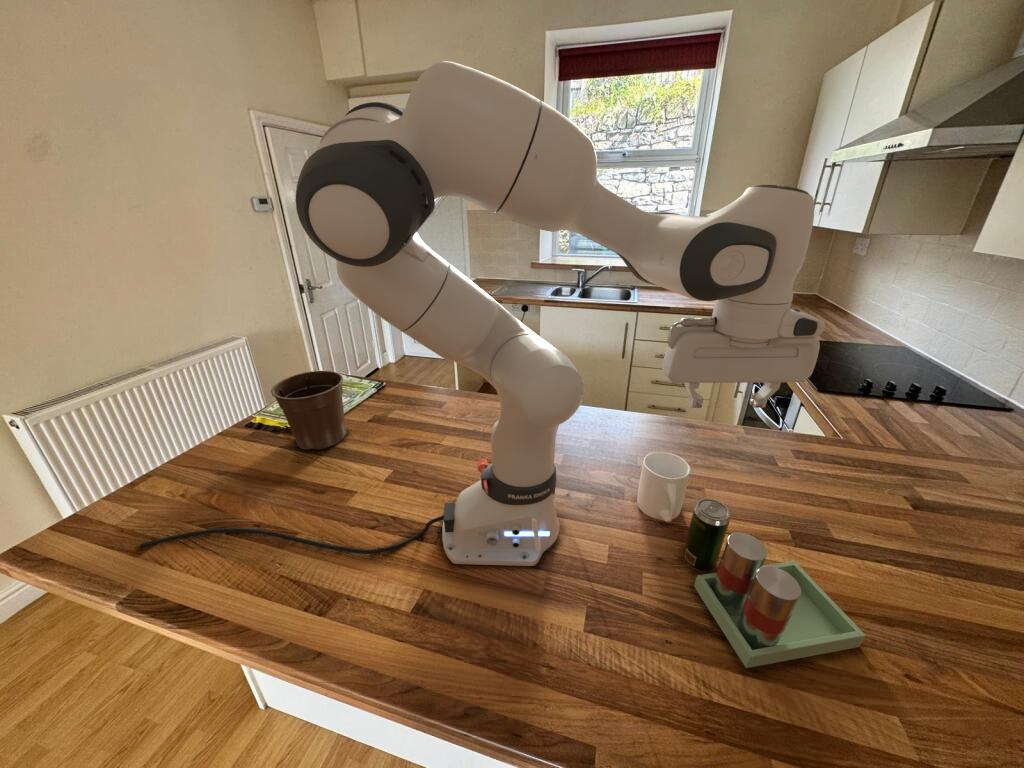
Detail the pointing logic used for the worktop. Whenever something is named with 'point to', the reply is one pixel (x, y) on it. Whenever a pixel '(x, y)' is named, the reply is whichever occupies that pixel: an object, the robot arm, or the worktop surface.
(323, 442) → the plant pot
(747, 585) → the silver can left
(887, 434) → the worktop surface
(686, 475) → the mug
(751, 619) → the silver can right
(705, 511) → the beer can
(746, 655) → the can tray
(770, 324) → the robot arm
